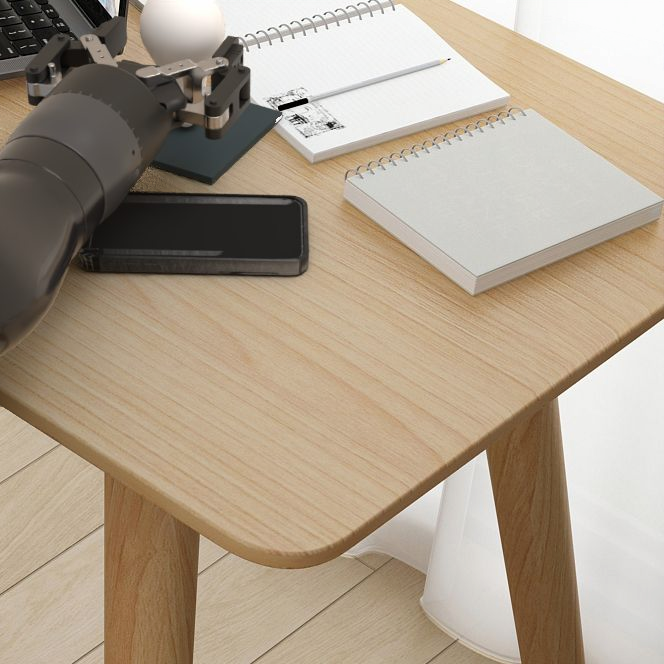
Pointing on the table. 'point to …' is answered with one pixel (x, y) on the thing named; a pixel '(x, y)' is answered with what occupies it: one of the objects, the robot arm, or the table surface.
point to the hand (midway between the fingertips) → (177, 38)
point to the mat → (214, 145)
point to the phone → (202, 235)
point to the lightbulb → (181, 31)
